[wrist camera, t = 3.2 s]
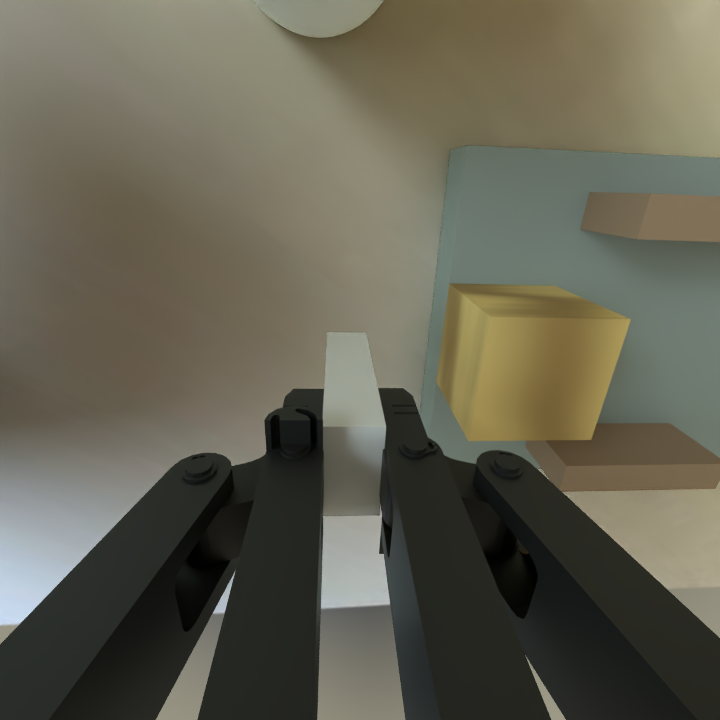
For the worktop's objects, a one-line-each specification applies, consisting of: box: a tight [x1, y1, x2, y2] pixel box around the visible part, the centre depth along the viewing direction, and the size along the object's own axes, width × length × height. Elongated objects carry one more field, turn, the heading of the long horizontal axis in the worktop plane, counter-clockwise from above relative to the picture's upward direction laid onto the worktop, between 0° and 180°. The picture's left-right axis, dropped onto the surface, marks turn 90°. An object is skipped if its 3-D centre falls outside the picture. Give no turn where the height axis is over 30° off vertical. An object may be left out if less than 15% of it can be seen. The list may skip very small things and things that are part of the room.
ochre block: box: [436, 283, 631, 441], centre depth 17 cm, size 5×5×5 cm
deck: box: [420, 145, 720, 492], centre depth 19 cm, size 27×16×6 cm, turn 88°
